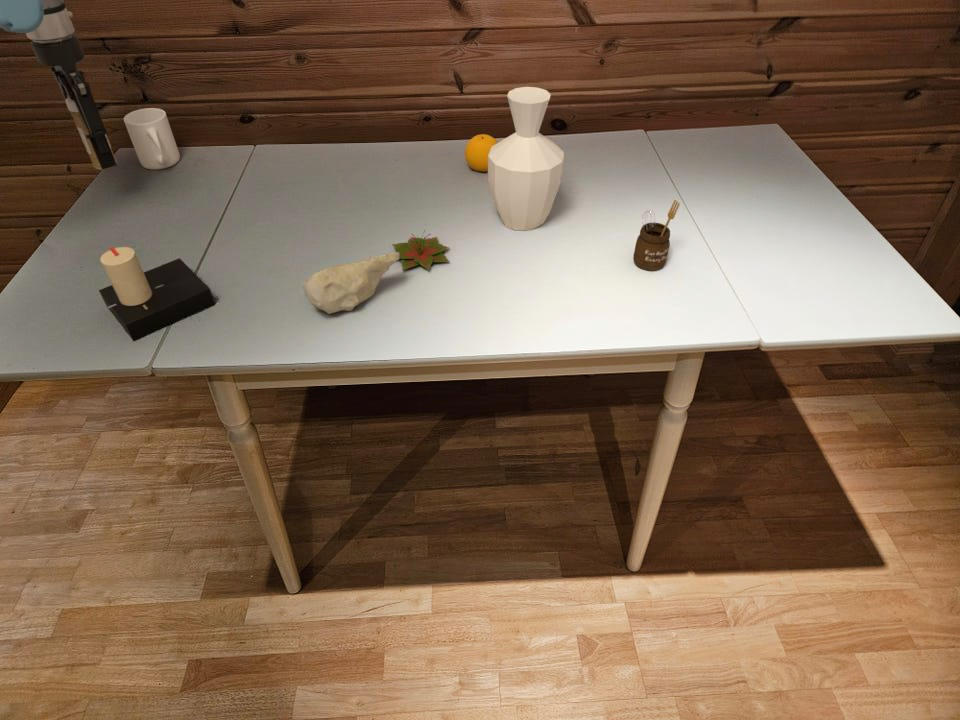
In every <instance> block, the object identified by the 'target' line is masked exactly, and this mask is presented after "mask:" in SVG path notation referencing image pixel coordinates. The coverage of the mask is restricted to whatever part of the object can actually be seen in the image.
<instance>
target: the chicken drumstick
mask: <svg viewBox="0 0 960 720" xmlns="http://www.w3.org/2000/svg"><path fill="white" fill-rule="evenodd" d="M399 255H400V254H399V252H397V251H393V252H390V253H388V254H386V253H384V254H380V255H377V256H374V257H373V255H371V256H368V257H366V259H363V260H361V261H357V262H353V263H347V264H339V265H336V266H331V267H328V268H324V269H321V270H319V271H317V272H315V273H312V274H311V276H309V278H308V280H306V281H305V282H303V283H302V285H301V287H302V290H303V293H305V297H306V299H307V300H308V302H309V303H310V305H311V306H313V307H316V308H318V309H319V310H321V311H323V312H326V313H327V314H328V315H330V314H333V313H338V312H340V311H346V312H352V311H353V309H354V308H355V307H356V306H358V305H360V304H362V303H363V302H365V301H367V300H368V299H369V298H370V297H372V296H373V295H374V293H375V292H376V290H377V286H378V284H380V281H381V278H382V277H383V276H384V275H385V274H386V273H387V272H388V271H389V270H390V268H391V267H392V265H394V264H395V263H396V262H398V260H400V258H399Z"/></svg>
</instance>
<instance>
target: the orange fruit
mask: <svg viewBox="0 0 960 720" xmlns="http://www.w3.org/2000/svg"><path fill="white" fill-rule="evenodd" d="M497 143H499V142H498V141H497V139H495V137H493V136H491V135H489V134H486V133H482V134H476V135H475V136H473V137H471V138H470V139H469V140H468V142H467V144H466V146H465V149H464V157H465V161H466V163H467V166H469V167H470V168H471V169H473V170H474V171H476V172H488V155H489V152H490V150H491V147H492V146H494V145H495V144H497Z"/></svg>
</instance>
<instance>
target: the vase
mask: <svg viewBox="0 0 960 720" xmlns="http://www.w3.org/2000/svg"><path fill="white" fill-rule="evenodd" d="M551 95H552V94H551V93H550V92H549V91H548V90H547V89H543V88H541V87H535V86H522V87H516V88H513V89H511V90H509V91H508V93H507V95H506V96H507V101H508V105H509V110H510V113H511V117H512V121H513V125H514V130H515V132H514V133H512V134H510V135H509V136H507V137H505V138H504V139H502V140H500V141H499V142H498V143H497V144H495V145H494V146H492V147H491V150H490V152H489V155H488V171H487V177H488V179H487V180H488V181H487V182H488V186H489V190H490V194H491V197H492V200H493V204H494V206H495V209H496V210H497V212H498V214H499V216H500V218H501V221H502V223H503V224H504V226H505V227H506V228H508V229H511V230H513V231H522V232H523V231H524V232H525V231H529V230H534V229H536V228H538V227H541V226H542V225H544V223H545V221H546V220H547V218H548V217H549V215H550V213H551V211H552V209H553V205H554V201H555V199H556V196H557V193H558V191H559V189H560V185H561V181H562V177H563V170H564V160H565V152H564V151H563V150H562V148H560V147H559V146H558V145H557V144H556V143H555V142H553V141H552V140H551V139H549V138H548V137H546V136H545V135H543V134H542V133H540V129H541V126H542V123H543V121H544V116H545V114H546V111H547V108H548V105H549V103H550V99H551Z"/></svg>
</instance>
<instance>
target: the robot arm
mask: <svg viewBox="0 0 960 720" xmlns="http://www.w3.org/2000/svg"><path fill="white" fill-rule="evenodd" d="M73 16H74V15H73V13H72V12H71V11H68V9H67V6H66V3H65V2H64V0H0V29H1V30H3V31H5V32H8V33H16V34H25V35H26V37H27V39H29V40H31V41H30V47H31V48H32V50H33V53H34V55H35V57H36V60H37V62H38V64H40V65H42V66H45V67H50V71H51V72H52V74H53V77H54V78H55V80H56V83H57V85H58V87H59V89H60V92H61V94H62V96H63V99H64V101H65V100H66V99H67V98H68V97H69V98H70V99H71V100H73V101H74V103H75V104H76V107H77V109H78V111H79V113H80V116H81V118H82V120H83V122H84V124H85V126H86V129H87V131H88V133H89V135H85V136H86V138H87V139H90V142H91V144H92V147H93V149H94V151H95V154H96V156H97V159H98V161H99V163H100V166H101V168H102V169H105V170H107V169H106V168H108V169H111V168H110V167H112V168H114V167H116V166H118V165H117V164H118V163H117V164H116V162H115V159H116V158H115V159H114V157H113V154H114V153H113V154H112V152H111V149H112V148H111V149H110V147H109V144H108V142H107V139H106V137H105V134H106V135H107V134H108V132H107V131H108V130H107V129H106V127H105V125H104V122H103V120H102V117H101V114H100V112H99V109H98V107H97V105H96V102H95V99H94V96H93V93H92V90H91V88H90V87H91V86H90V84H89V82H88V81H86V78H85V75H84V73H83V71H82V70H79V69H78V67H77V66H76V64H77V63H78V62H81V61H82V60H83V59H85V52H84V49H83V47H82V44H81V42H80V38H79V37H78V35H76V34H75V32H76V30H75V27H74V25H73V21H72V20H71V19H72V18H73ZM69 112H70V111H69ZM70 115H71V119H72V120H74V118H73V116H72V114H71V112H70ZM113 166H114V167H113Z"/></svg>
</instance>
